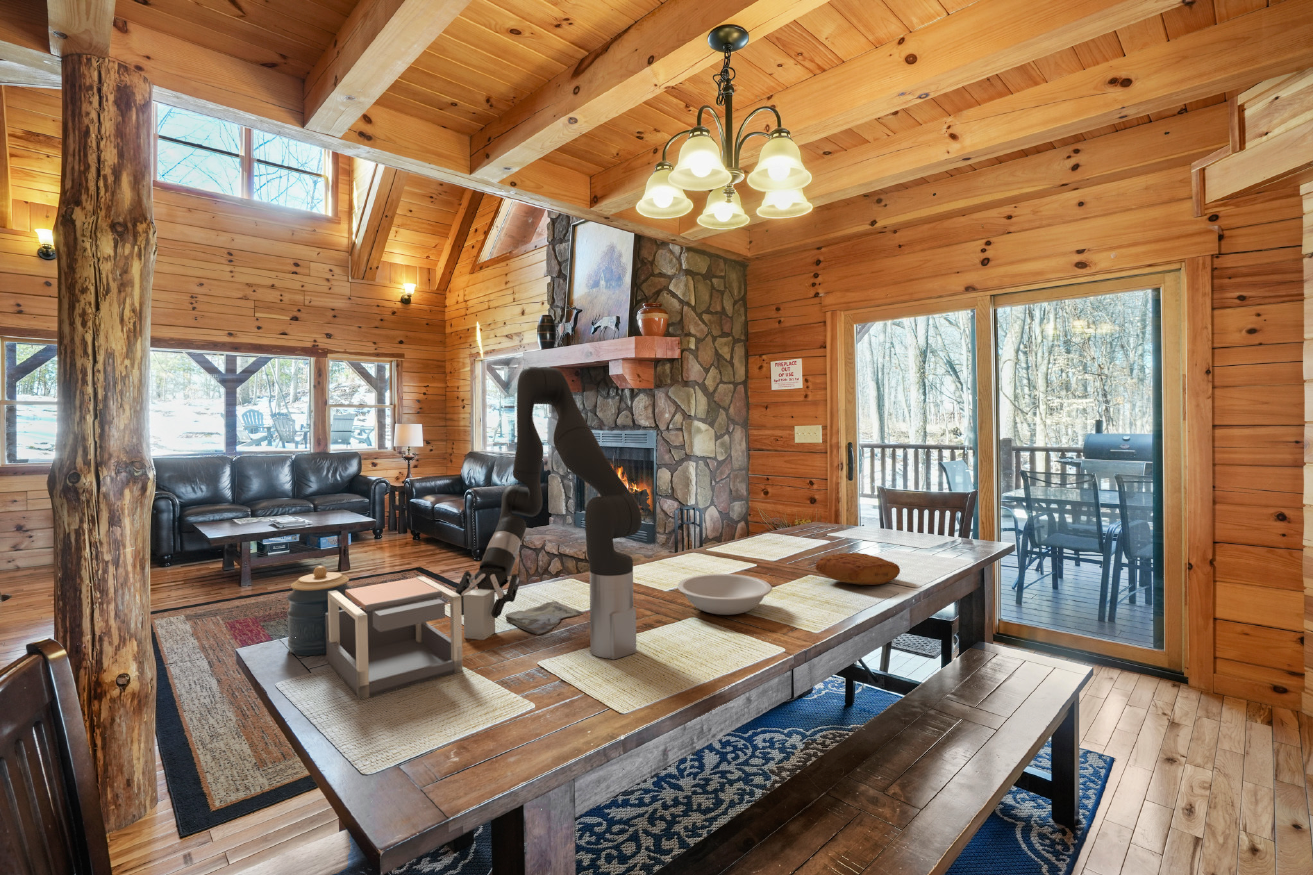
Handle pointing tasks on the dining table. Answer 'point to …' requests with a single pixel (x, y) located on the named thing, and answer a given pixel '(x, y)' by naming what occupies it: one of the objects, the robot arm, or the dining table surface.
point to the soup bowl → (724, 592)
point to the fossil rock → (541, 617)
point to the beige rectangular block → (479, 614)
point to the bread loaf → (858, 568)
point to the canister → (312, 610)
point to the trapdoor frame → (389, 647)
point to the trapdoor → (399, 603)
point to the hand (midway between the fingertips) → (477, 615)
